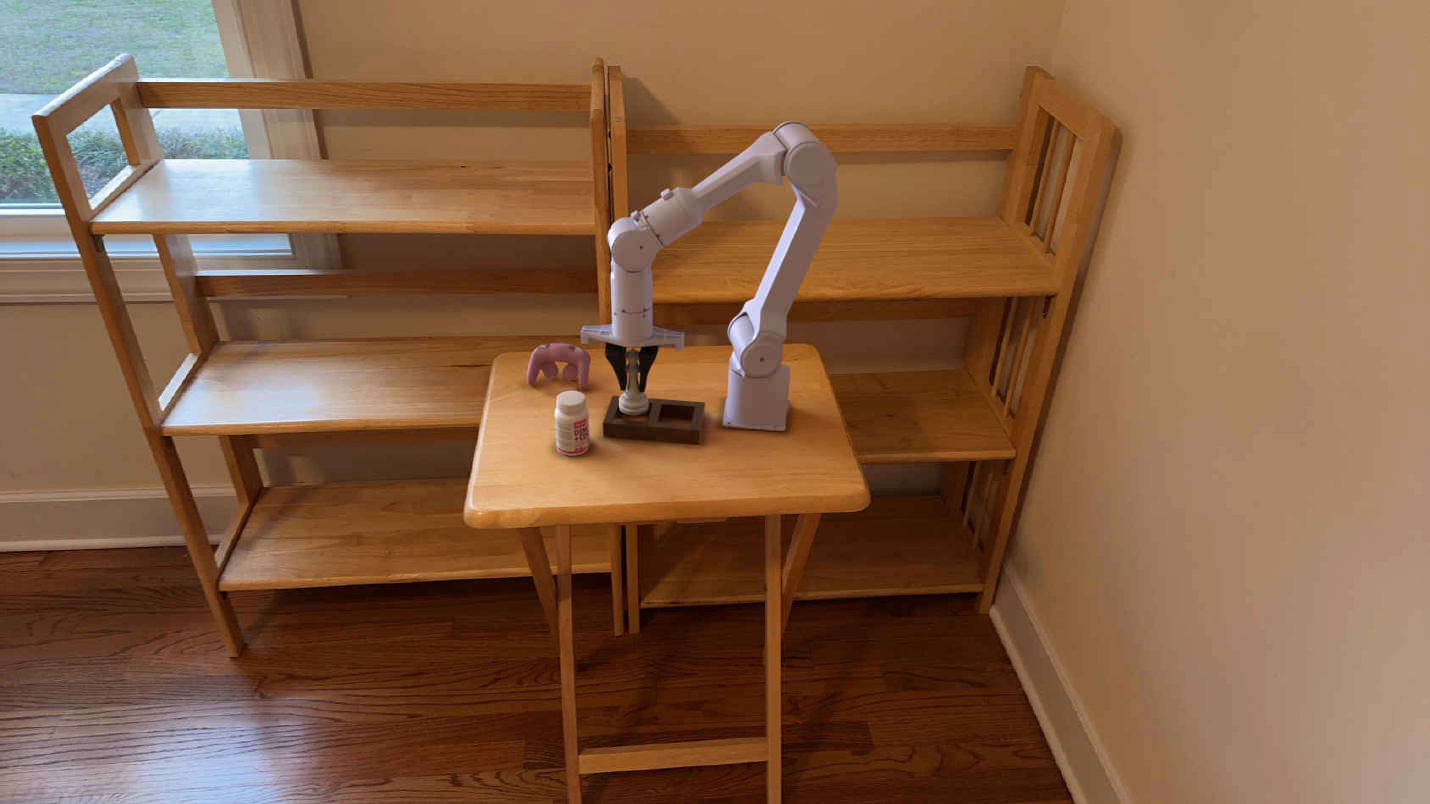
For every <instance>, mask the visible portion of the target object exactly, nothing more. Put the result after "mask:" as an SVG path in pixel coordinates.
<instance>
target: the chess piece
mask: <svg viewBox="0 0 1430 804" xmlns="http://www.w3.org/2000/svg"><path fill="white" fill-rule="evenodd" d="M639 352H640V350H636V349H635V347H631V348H630V349H629V350H628V351H627V352H626V353H625V357H626V361H627V362H628V363H627V364H626V366H625V371H626V372H627V374H628V379H627V386H626V389H625V391H623V393H622V394H621V395H619V396H620V398H619V409H620V410H621V411H622V412H623V413H625V414H628V415H627V416H636V415H639V414H642V413H644V412H646V411H647V410H648V407H649V403H648V398H649V397H648V395H647V394H646V393H645V392H640V391H639V383H640V381H639V375H638V374H640V367H639V359H638V355H639Z"/></svg>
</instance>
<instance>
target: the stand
mask: <svg viewBox="0 0 1430 804" xmlns="http://www.w3.org/2000/svg"><path fill="white" fill-rule="evenodd" d="M620 396H621V395H611V399H610V401H609V404H608V407H607V410H606V412H605V415H604V419H603V421H602V437H603V438H610V439H622V440H623V439H624V440H625V439H626V440H637V441H649V442H661V443H674V444H687V445H700V443H701V437H702V431H703V427H704V422H705V417H706V402H704V401H695V400H694V401H693V400H682V399H681V400H680V399H679V400H678V399H665V398H653V397H652V398H651V397H648V403H649V407H648V410H647V411H646V412H644V413H642V414H639V415H635V416H636V417H637V416H639V417H648V418H647V420H635V419H623V418H620V416H621V415H623V416H624V415H625V416H629V415H628V414H625V413H623V412H622V411H621V410H620V409H619V398H620ZM662 419H674V420H675V419H676V420H687V421H691V424H686V423H674V422H662Z"/></svg>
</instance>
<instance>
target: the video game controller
mask: <svg viewBox="0 0 1430 804" xmlns="http://www.w3.org/2000/svg"><path fill="white" fill-rule="evenodd" d="M591 360H592V359H591V355H590V353H589V352H588V351H587V350H585V349H584V348H583V349H582V348H580V347H579V346H576V345H574V344H569V343H563V342H554V343H553V342H552V343H547V344H541V345H539V346H538V347H536V348H535V349H534V350H533V351H532V353H531V355H530V359H529V362H528V366H527V372H526V383H527V385H528V386H530V387H532V386H533V385H534V384H535V383H536V381H537V379H538V376H539V374H540V371H542V373H543V375H544V377H546V378H547V379H553V378H557V376H558V374H559V367H558V365H557V364H556V363H557V362H559V363H565V364H566V365H565V366H564V368H563V369H562V376H563V378H564V379H565V380H568V381H572V380H575V379H576V378H577V377H578V378H577V379H578V380H577V383H578V387H579V389H580V390H582V391H583V390H585V389H586V387H587V385H588V382H589V376H590V370H591V369H590V365H591V362H592V361H591Z"/></svg>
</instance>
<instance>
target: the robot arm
mask: <svg viewBox="0 0 1430 804" xmlns="http://www.w3.org/2000/svg"><path fill="white" fill-rule="evenodd" d="M837 170H838V164H837V161H836V160H835V158H834V157H833V155H832V153H831V152H830V149H829V148H828V147H827V146H826V145H825V144H824V143H823V142H822V141H820V139H818V138H817V136H815V135H814V133H813V132H812V130H811V129H810V127H809V126H808V125H806V124H805V123H803V122H801V121H798V120H788V121H784V122H782V123H780V124H779V125H778V126H776V127H775V128H774V129H773V131H772V130H770V131H767V132H765V133H763V134H761V135H760V136H759V137H758V138H757V140H755V141H754V142H753V143H752V144H751V145H750V146H749V147H748V148H746V149H745V150H743V151H742V152H741V153H739V154H738V155H737V156H735V157H734V158H732V159H731V160H730V161H728V162H727V163H726V164H724V165H723V166H721V167H719V168H718V169H717V170H716V171H715V172H713V173H712V174H710V175H709V176H707V177H706V178H705V179H704V180H702V181H700V182H699V183H697V185H695V186H694V187H692V188H688V187H682V186H677V187H676V188H674V189H672V190H671V189H670V188H666V189H664V190H663V191H660V196H661V197H660V198H658V199H657V200H655V201H654V202H653V203H651V204H649V205H648V206H646V207H645V208H643V209H641V210H640V211H638V210H637V209H636V210H635V211H633V212H632V213H630V216H629V217H627V216H624V217H621V218H618V219H617V220H615V221H614V222H613V223H612V225H611V226H610V229H609V230H608V233H607V234H606V237H605V238H606V242H607V244H608V246H609V249H610V253H611V261H610V270H611V271H610V301H611V302H610V303H611V304H610V305H611V323H610V324H600V325H583V326H582V328H581V330H580V343H581V345H589V344H590V343H596V344H605V347H604V348H605V349H604V352H603V353H604V356H605V359H606V360H607V361H608V362H609V364H610V366H611V367H612V370H613V372H614V374H615V376H616V378H617V381H618V382H617V383H618V385H619V389H620V392H621V391H622V392H624V391H625V389H626V388H627V386H628V380H629V376H628V373H627V372H626V371H625V366H626V365H627V358H626V357H625V353H626V352H627V350H628V349H627V348H640V349H639V355H638V365H639V367H640V372H639V391H640V392H643V393H645V391H646V388H647V381H648V376H649V372H650V371H651V368H652V366H653V364H654V363H655V360H656V358H657V356H658V354H659V353H658V352H659V349H660V348H665V349H666V348H667V349H674V350H675V351H678V352H683V351H684V346H685V332H681V331H673V330H669V329H666V328H661V327H658V326H655V325H654V304H653V303H654V301H653V300H654V298H653V297H654V296H653V295H654V292H653V290H654V289H653V287H654V286H653V283H654V282H653V272H652V264H653V263H654V262H655V259H656V257H657V254H658V252H659V251H661V250H663V249H664V248H666V247H667V246H669V245H671V244H672V243H674V242H676V241H677V240H678V239H680V238H682V237H683V236H685V235H686V234H688V233H690V232H691V231H693V230H694V229H696V228H697V227H699V226H701V225H702V223H703V219H704V215H705V214H706V211H708V210H709V209H711V208H713V207H714V206H716V205H718V204H720V203H722V202H724V201H725V200H728V199H730V197H733V196H735V195H736V194H738V193H739V192H741V191H744V190H746V188H749V187H751V186H752V185H754V184H755V183H764V184H769V185H775V186H783V185H784V180H783V177H786V179H787V180H788V183H789V184H790V186H791V188H792V191H793V193H794V194H795V197H796V202H795V204H794V207H793V209H792V211H791V213H790V216H789V218H788V220H787V222H786V224H785V226H784V229H783V231H782V234H781V236H780V239H779V241H778V243H777V245H776V248H775V250H774V251H773V254H772V257H771V259H770V261H769V263H768V266H767V268H766V270H765V273H764V275H763V277H762V280H761V281H760V283H759V286H758V288H757V291H756V293H755V295H754V297H753V298H752V299H750V300H747V301H746V302H745V303H744V305H743V307H742V309H741V311H740V312H739V313H738V314H737V315H736V316H735V317H734V318H732V320H731V321H730V322H729V325H728V328H727V337H728V340H729V342H730V343H731V345H732V346H733V350H732V353H731V355H730V357H729V360H728V377H727V381H728V382H727V397H725V405H724V411H723V417H722V421H721V422H722V423H721V426H722V427H724V428H733V429H734V428H735V429H745V430H746V429H747V430H757V431H758V430H760V431H773V432H786V427H787V415H788V413H789V412H790V405H791V399H789V395H790V394H789V393H790V379H791V366H790V365H785V364H782V362H783V355H784V354H783V348H784V347H783V346H784V344H785V341H786V339H787V317H788V315H789V312H790V310H791V308H792V305H793V304H794V301H795V299H796V297H797V295H798V292H799V291H800V288H801V286H802V283H803V281H804V279H805V278H806V275H807V273H808V271H809V268H810V267H811V264H812V262H813V260H814V257H815V255H816V253H817V251H818V249H819V247H820V245H821V242H822V241H823V238H824V235H825V234H826V232H827V229H828V227H829V225H830V223H831V220H832V218H833V216H834V214H835V212H836V210H837V207H838V204H839V194H838V187H837V186H838V184H837V175H836V174H837Z"/></svg>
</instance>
